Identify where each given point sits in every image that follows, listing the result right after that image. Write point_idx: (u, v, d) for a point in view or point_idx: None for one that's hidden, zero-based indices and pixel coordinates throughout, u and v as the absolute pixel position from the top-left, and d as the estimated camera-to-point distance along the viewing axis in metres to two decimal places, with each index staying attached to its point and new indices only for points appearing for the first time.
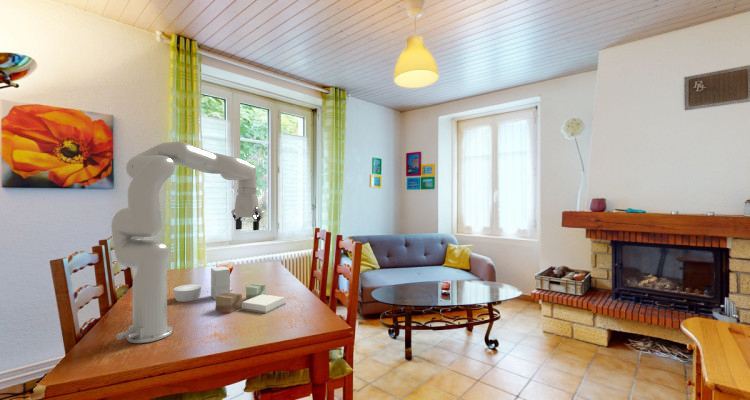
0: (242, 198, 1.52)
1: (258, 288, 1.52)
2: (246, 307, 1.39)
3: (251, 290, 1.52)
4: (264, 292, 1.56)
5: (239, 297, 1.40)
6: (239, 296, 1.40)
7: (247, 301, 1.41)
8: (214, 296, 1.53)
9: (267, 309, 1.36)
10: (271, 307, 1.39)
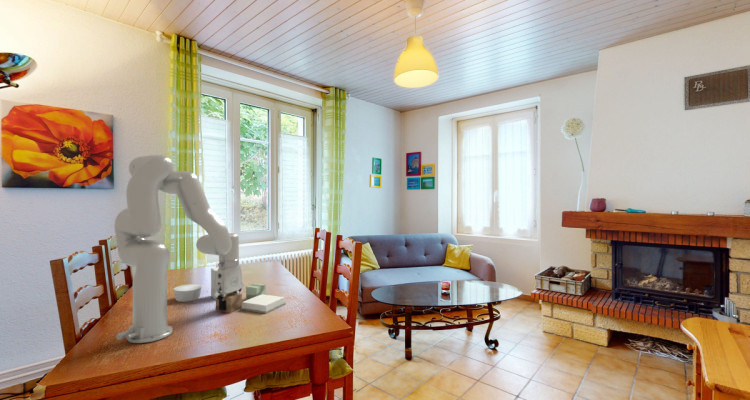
0: (234, 271, 1.39)
1: (258, 288, 1.52)
2: (246, 307, 1.39)
3: (251, 290, 1.52)
4: (264, 292, 1.56)
5: (239, 297, 1.40)
6: (239, 296, 1.40)
7: (247, 301, 1.41)
8: (214, 296, 1.53)
9: (267, 309, 1.36)
10: (271, 307, 1.39)
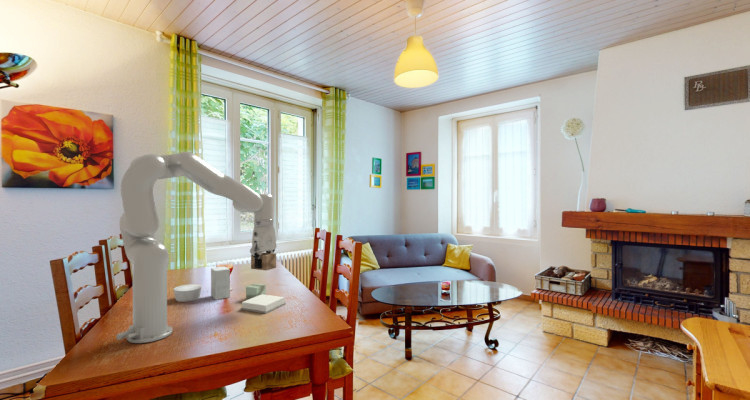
0: (269, 231, 1.42)
1: (258, 288, 1.52)
2: (246, 307, 1.39)
3: (251, 290, 1.52)
4: (264, 292, 1.56)
5: (274, 256, 1.43)
6: (274, 255, 1.43)
7: (247, 301, 1.41)
8: (214, 296, 1.53)
9: (267, 309, 1.36)
10: (271, 307, 1.39)
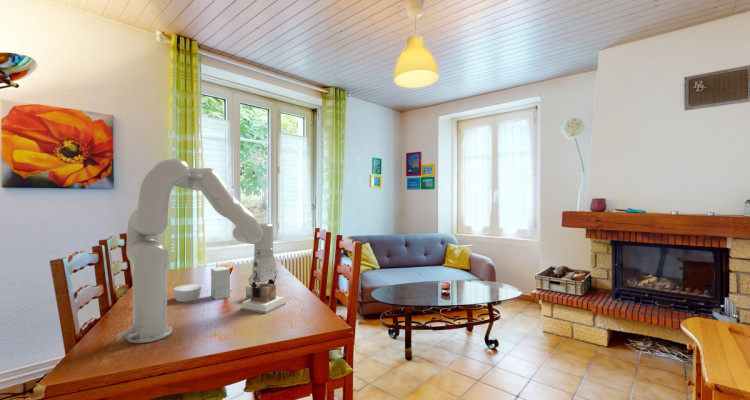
0: (269, 260, 1.42)
1: None
2: (246, 307, 1.39)
3: None
4: None
5: (273, 287, 1.43)
6: (273, 286, 1.43)
7: (247, 301, 1.41)
8: (214, 296, 1.53)
9: (267, 309, 1.36)
10: (271, 307, 1.39)
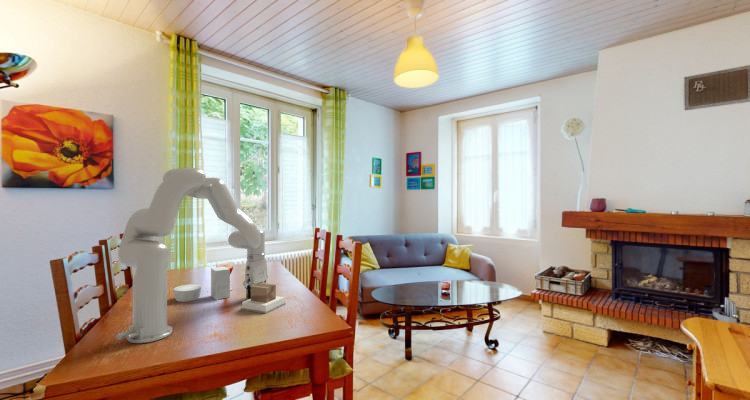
0: (260, 264, 1.53)
1: None
2: (246, 307, 1.39)
3: None
4: None
5: (273, 287, 1.43)
6: (273, 286, 1.43)
7: (247, 301, 1.41)
8: (214, 296, 1.53)
9: (267, 309, 1.36)
10: (271, 307, 1.39)
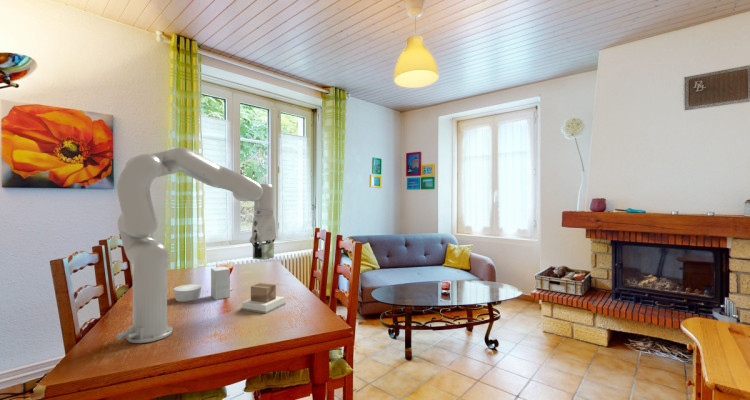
0: (269, 220, 1.42)
1: (266, 246, 1.40)
2: (246, 307, 1.39)
3: None
4: (272, 251, 1.44)
5: (273, 287, 1.43)
6: (273, 286, 1.43)
7: (247, 301, 1.41)
8: (214, 296, 1.53)
9: (267, 309, 1.36)
10: (271, 307, 1.39)
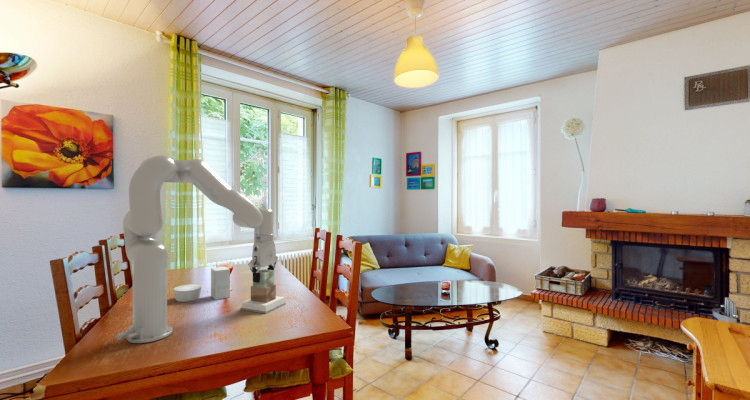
0: (269, 245, 1.42)
1: (266, 274, 1.40)
2: (246, 307, 1.39)
3: None
4: (272, 278, 1.44)
5: (273, 287, 1.43)
6: (273, 286, 1.43)
7: (247, 301, 1.41)
8: (214, 296, 1.53)
9: (267, 309, 1.36)
10: (271, 307, 1.39)
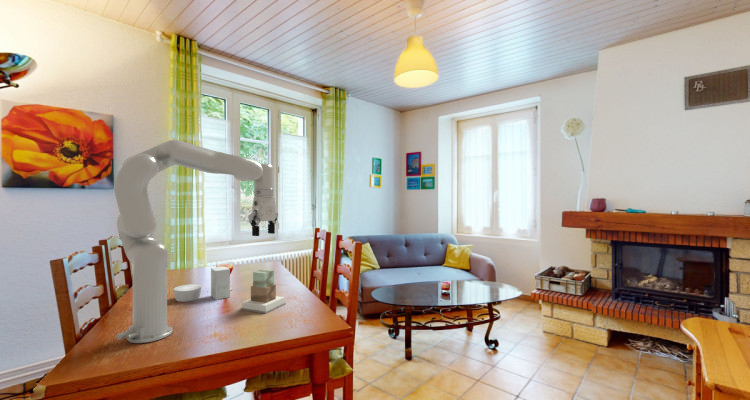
0: (269, 201, 1.42)
1: (266, 274, 1.40)
2: (246, 307, 1.39)
3: (259, 276, 1.40)
4: (272, 278, 1.44)
5: (273, 287, 1.43)
6: (273, 286, 1.43)
7: (247, 301, 1.41)
8: (214, 296, 1.53)
9: (267, 309, 1.36)
10: (271, 307, 1.39)
